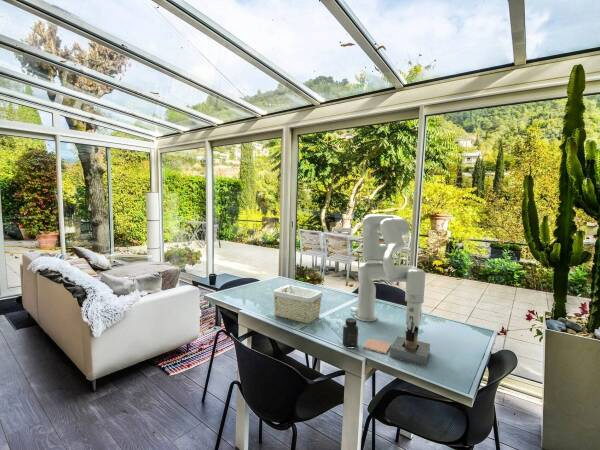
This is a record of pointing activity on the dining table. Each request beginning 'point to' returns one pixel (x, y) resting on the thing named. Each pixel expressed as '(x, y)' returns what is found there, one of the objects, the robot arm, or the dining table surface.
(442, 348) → the dining table surface
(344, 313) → the dining table surface
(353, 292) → the dining table surface
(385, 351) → the tile
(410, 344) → the brown cylinder
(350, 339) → the supplement bottle
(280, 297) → the storage basket
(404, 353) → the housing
